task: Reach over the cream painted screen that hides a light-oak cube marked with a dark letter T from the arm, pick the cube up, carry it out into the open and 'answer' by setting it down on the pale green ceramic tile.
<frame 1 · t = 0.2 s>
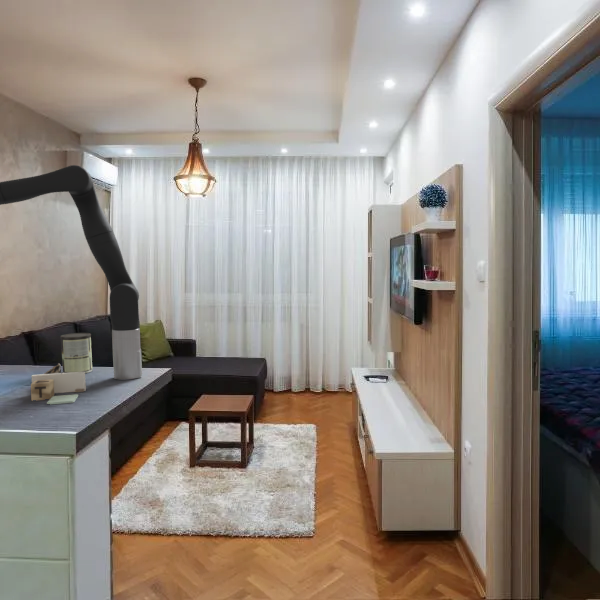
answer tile: (63, 400, 138), on the table
screen: (59, 392, 147), on the table
coffee can: (77, 372, 176), on the table
letter cube: (43, 398, 141), on the table
rock: (48, 388, 153), on the table
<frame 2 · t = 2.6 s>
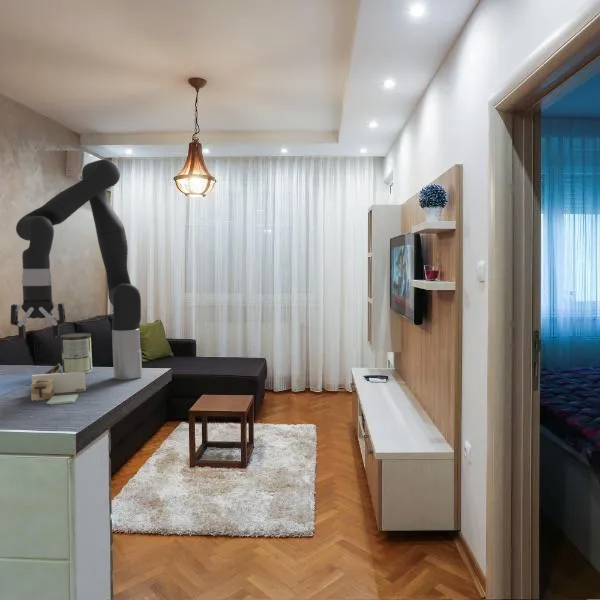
hand: (39, 338, 140), 18 cm above the table, fingers open, 8 cm apart
nothing on the table moved.
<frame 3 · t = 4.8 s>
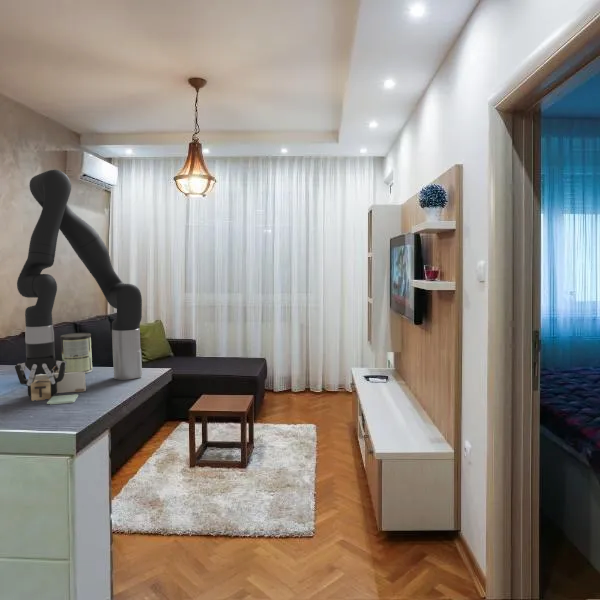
hand: (42, 396, 141), 0 cm above the table, fingers closed on letter cube, 5 cm apart
letter cube: (43, 397, 141), on the table, touching gripper
everything else where it was.
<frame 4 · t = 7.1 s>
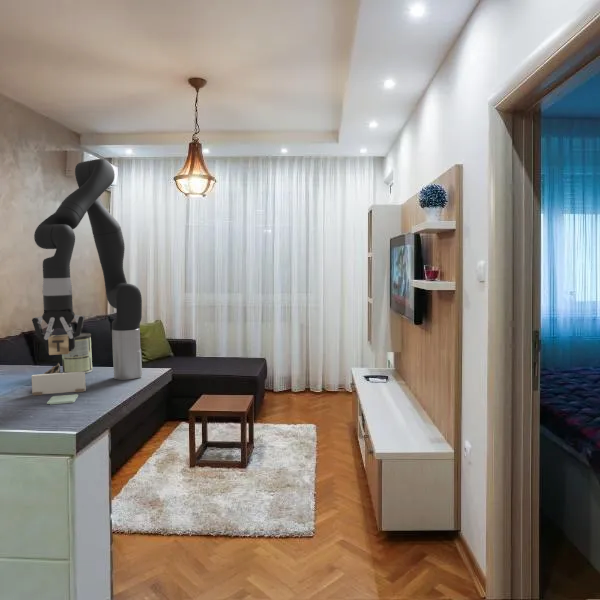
hand: (60, 351, 137), 15 cm above the table, fingers closed on letter cube, 5 cm apart
letter cube: (60, 353, 137), point 14 cm above the table, touching gripper
everything else where it was.
when the fingers open (2 cm above the table, at t = 9.7 s): letter cube stays where it is, resting on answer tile.
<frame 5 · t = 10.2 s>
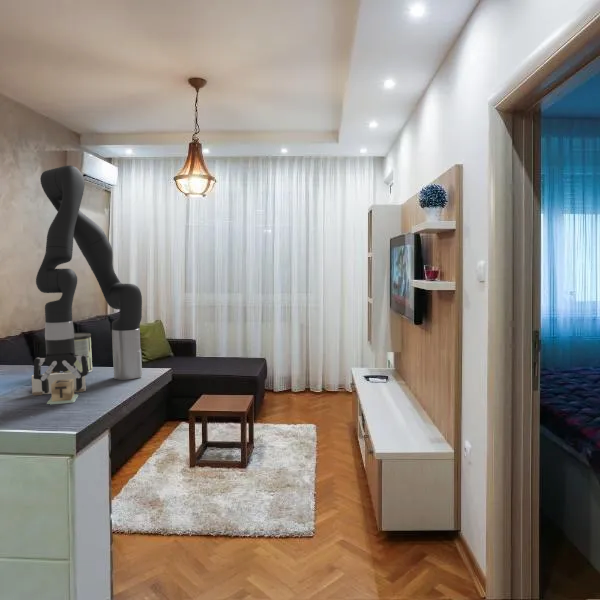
hand: (62, 391, 138), 3 cm above the table, fingers open, 8 cm apart
letter cube: (63, 398, 138), point 1 cm above the table, touching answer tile
everything else where it was.
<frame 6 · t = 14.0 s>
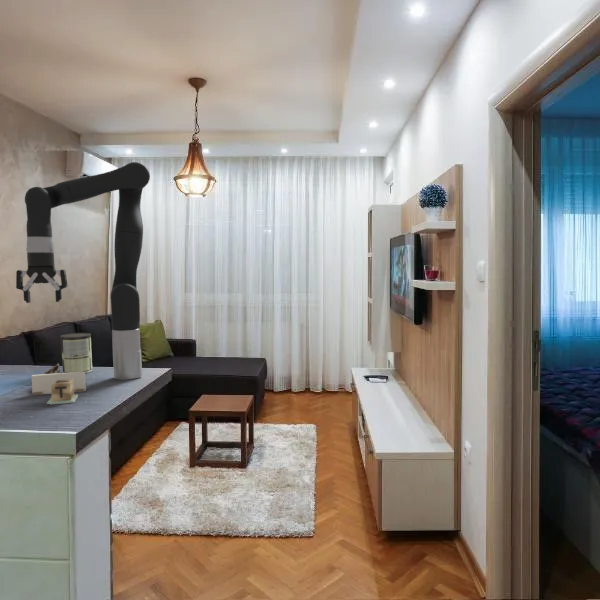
hand: (43, 302, 150), 28 cm above the table, fingers open, 8 cm apart
nothing on the table moved.
at the end: letter cube 0.1 cm off-centre on the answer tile, point 0.6 cm above the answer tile's base; letter cube tilted 0°; the gripper is holding nothing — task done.
